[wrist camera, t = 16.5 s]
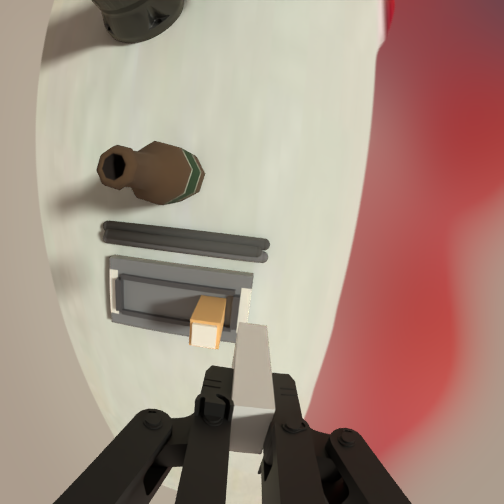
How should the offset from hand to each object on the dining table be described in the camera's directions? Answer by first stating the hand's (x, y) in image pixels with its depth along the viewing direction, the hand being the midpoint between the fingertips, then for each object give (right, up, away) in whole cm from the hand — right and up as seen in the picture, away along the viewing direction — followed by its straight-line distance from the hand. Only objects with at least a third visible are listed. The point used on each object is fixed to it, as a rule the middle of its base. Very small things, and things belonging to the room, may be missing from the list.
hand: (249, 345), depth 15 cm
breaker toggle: (-6, -4, +31) cm, 31 cm away
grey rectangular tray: (-12, -3, +33) cm, 35 cm away
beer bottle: (-11, +17, +29) cm, 35 cm away
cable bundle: (-11, +7, +31) cm, 33 cm away
